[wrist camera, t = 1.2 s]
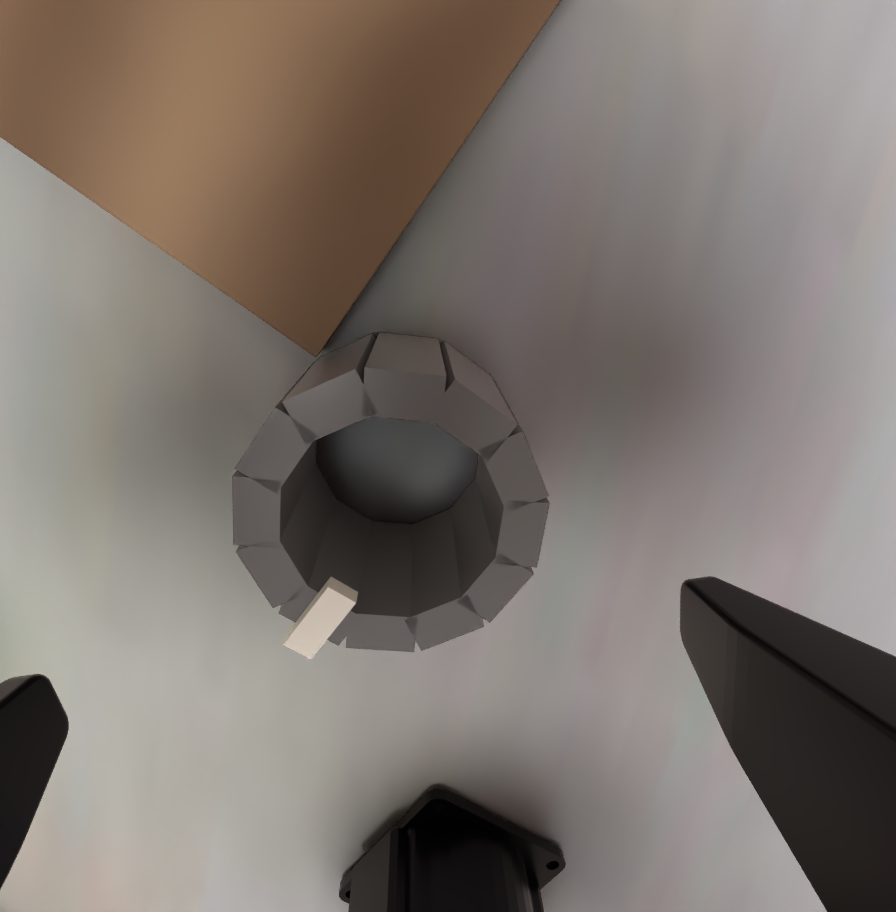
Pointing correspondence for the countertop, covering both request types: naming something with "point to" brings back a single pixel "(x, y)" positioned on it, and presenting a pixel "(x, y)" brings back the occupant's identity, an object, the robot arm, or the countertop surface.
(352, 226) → the square brown plate
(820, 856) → the robot arm
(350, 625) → the gray faceted pot
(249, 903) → the countertop surface
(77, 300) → the countertop surface
